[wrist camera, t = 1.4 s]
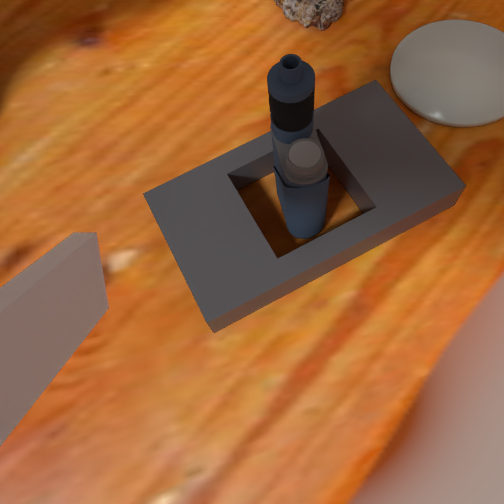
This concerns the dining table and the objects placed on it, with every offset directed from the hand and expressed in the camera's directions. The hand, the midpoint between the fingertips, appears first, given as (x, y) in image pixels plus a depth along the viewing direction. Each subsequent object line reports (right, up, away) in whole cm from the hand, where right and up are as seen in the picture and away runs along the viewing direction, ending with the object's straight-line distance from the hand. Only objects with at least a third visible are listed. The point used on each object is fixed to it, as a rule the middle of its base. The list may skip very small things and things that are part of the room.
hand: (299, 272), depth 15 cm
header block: (+2, +4, +18) cm, 18 cm away
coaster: (+14, +14, +21) cm, 29 cm away
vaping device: (+2, +4, +18) cm, 19 cm away
